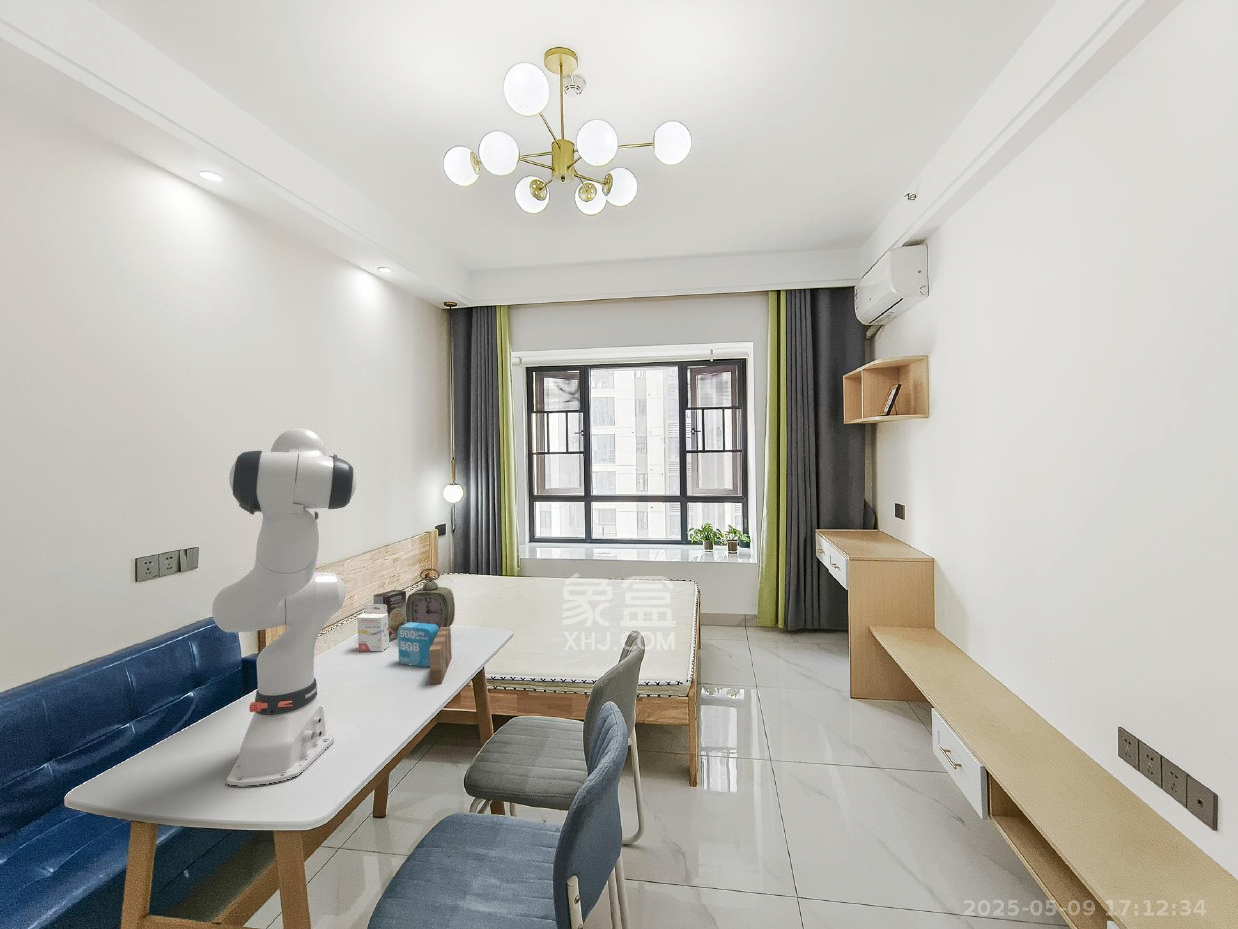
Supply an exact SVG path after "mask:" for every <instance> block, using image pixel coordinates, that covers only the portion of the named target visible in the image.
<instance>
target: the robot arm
mask: <svg viewBox="0 0 1238 929" xmlns="http://www.w3.org/2000/svg"><path fill="white" fill-rule="evenodd" d="M228 480H229V487H230V489H231V491H232V495H233V497H234V499H235V500H236V502H237V504H238V506H239V507H240V508H241V509H242V510H244V511H246V512H247V513H249V514H250V515H252V516H254V514H255V513H256V512H259V513H261V514H262V520H261V526H260V530H259V533H258V537H257V542H256V550H255V560H254V567H253V568H251V569H252V570H250V571H249V572H248V573H247V574H246V575H245V576H243V577H242V578H240V579H239V580H238V581H235V582H234V583H232V584H229V585H227V586H225V587H223V588H222V589H221V590H220V591H219V592H218V593H217V595H216V596H215V597H214V600H213V602H212V607H211V612H212V613H211V614H212V615H211V616H212V618H213V621H214V623H215V624H216V626H217V627H218V628H219V629H221V631H223V632H225V633H248V632H249V633H251V632H252V633H253V632H257V631H260V630H261V631H262V630H267V629H268V630H269V629H272V628H277V627H283V626H284V627H286V629H285V630H284V632H283V634H281V635H280V636H279V637H278V638H276V639H275V640H273V641H272V642H270V643H269V644H267V645H266V646H265V647H264V648H263V649H262V650H261V651H260V652H259V653H258V656H257V657H256V675H257V677H256V679H257V690H256V692H255V697H254V701H251V702H250V704H249V709H248V710H249V712H250V713H253V716H252V718H251V720H250V722H249V725H248V728H247V730H246V733H245V735H244V737H243V741H242V742H241V746H240V749H239V756H238V757H237V759H236V761H235V763H234V765H233V767H232V769H231V771H230V772H229V774H228V775H227V778H226V784H227V785H228V784H231V785H238V786H237V787H246V786H245V785H257V786H259V785H258V784H266V785H270V784H269V783H272V784H274V783H273V782H276V781H282V780H284V779H288V778H292V777H295V776H297V775H299V774H300V773H301V772H302V773H303V772H304V771H306V769H307V768H309V766H311V765H312V763H314V762H315V760H316V759H318V758H319V756H321V755H322V754H323V753H324V752H325V751H326V750H327V749H328V748H329V747H330V746H331V745H332V744H333V743H334V742H335V736H334V735H332V734H329V733H328V727H327V719H326V709H325V706H324V705H323V704H322V703H321V702H320V701H319V700H318V698H317V696H318V684H317V679H316V678H315V665H314V663H315V660H314V659H315V647H316V643H317V640H318V637H319V635H320V633H321V631H322V629H323V628H324V626H325V625H326V624H327V622H328V621H329V620H330V619H331V618H332V617H333V616H334V615H335V614H337V613H338V612H339V610H340V609H341V607H342V606H343V604H344V603H345V602H344V601H345V599H346V587H345V584H344V581H343V580H342V579H341V578H340V576H338V574H336V573H334V572H329V571H316V566H317V561H318V555H319V554H318V553H319V544H320V542H319V541H320V538H319V525H318V524H319V523H318V520H319V518H320V513H319V511H317V509H327V510H337V509H343V508H345V507H347V505H349V504H350V501H351V499H352V498H353V496H354V494H355V492H356V489H357V478H356V473H355V471H354V467H353V466H352V464H350V463H349V462H348V461H347V460H344V459H342V458H339V457H338V454H335V453H333V456H332V455H327V451H326V448H325V444H324V441H323V440H322V439H321V437H320V436H319V435H318V434H317V433H315V432H314V431H312V430H311V429H307V428H304V427H294V428H289V429H286V430H285V431H284V432H282V433H281V434H280V435H278V436H277V438H276V439H275V440H274V442H273V444H272V446H271V448H270V451H262V450H249V451H243V452H242V453H240V454H239V455H237V457H236V460H235V461H234V463H233V464H232V466H231V468H230V471H229V476H228ZM327 747H328V748H327ZM325 749H326V750H325ZM303 770H304V771H303ZM302 773H301V774H302ZM301 774H300V775H301ZM300 775H299V776H300ZM297 777H298V776H297ZM295 778H296V777H295ZM292 779H293V778H292ZM282 782H283V781H282ZM231 785H230V786H231Z"/></svg>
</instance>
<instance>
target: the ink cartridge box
mask: <svg viewBox="0 0 1238 929" xmlns="http://www.w3.org/2000/svg"><path fill="white" fill-rule="evenodd" d="M363 606H364V613H362V614H361V615H359V616H357V642H358V644H357V647H358V652H359V651H383V652H384V651H385V650H384V649H385V648H387V647H388V646H389V647H390V642H389V629H388V613H387V605H380V604H374V603H373V604H372V603H371V604H370V603H367V604H366V603H365V604H364V605H363ZM375 607H377V608H380V609H379V610H378V609H374V608H375ZM389 647H388V648H389ZM388 648H387V649H388Z"/></svg>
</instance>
